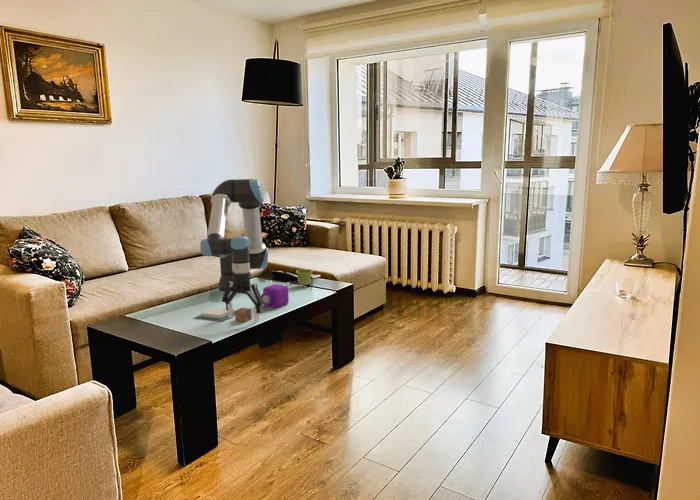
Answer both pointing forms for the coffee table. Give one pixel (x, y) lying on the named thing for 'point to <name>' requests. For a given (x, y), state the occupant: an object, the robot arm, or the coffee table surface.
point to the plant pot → (304, 276)
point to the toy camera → (275, 295)
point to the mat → (212, 318)
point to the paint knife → (311, 276)
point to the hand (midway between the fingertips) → (243, 319)
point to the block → (243, 315)
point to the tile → (216, 313)
